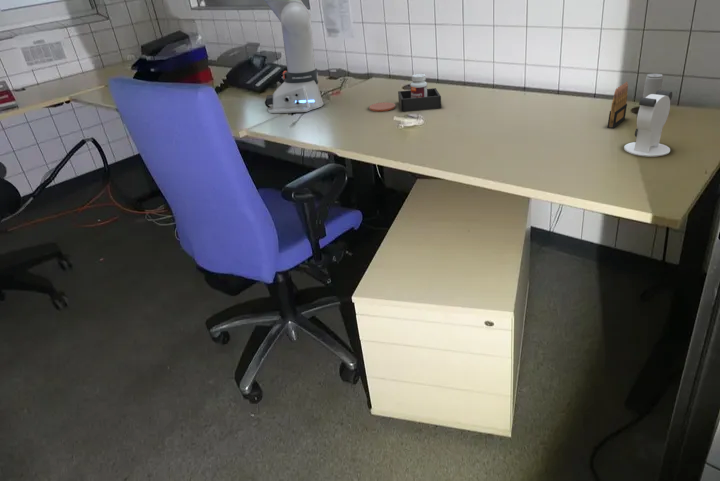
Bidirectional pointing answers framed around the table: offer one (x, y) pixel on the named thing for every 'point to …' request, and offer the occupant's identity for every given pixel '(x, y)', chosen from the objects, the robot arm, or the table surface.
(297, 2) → the robot arm
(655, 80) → the beverage can
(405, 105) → the black box
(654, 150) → the white disc-based upright fixture
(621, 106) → the brown panel in holder
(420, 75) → the pill bottle
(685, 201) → the table surface
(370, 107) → the coaster
